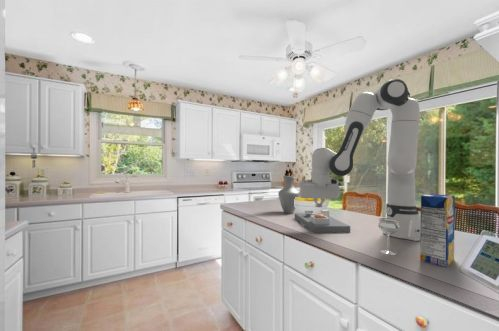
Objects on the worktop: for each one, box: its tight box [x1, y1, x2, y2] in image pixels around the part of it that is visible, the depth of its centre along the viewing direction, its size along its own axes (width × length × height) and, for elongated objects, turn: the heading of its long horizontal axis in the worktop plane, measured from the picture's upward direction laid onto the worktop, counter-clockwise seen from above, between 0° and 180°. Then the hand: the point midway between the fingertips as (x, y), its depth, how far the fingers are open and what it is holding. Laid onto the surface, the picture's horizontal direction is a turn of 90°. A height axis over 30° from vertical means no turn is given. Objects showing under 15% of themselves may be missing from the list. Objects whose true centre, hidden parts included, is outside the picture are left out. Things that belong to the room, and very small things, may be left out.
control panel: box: [294, 212, 351, 234], centre depth 130 cm, size 18×32×6 cm, turn 6°
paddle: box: [320, 209, 330, 218], centre depth 131 cm, size 4×2×4 cm, turn 96°
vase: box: [277, 175, 300, 214], centre depth 163 cm, size 14×14×25 cm
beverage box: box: [419, 193, 456, 268], centre depth 81 cm, size 7×11×22 cm, turn 129°
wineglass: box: [378, 217, 399, 256], centre depth 88 cm, size 7×7×12 cm
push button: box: [315, 214, 325, 218], centre depth 120 cm, size 5×5×2 cm
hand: (318, 207), depth 121 cm, fingers closed
